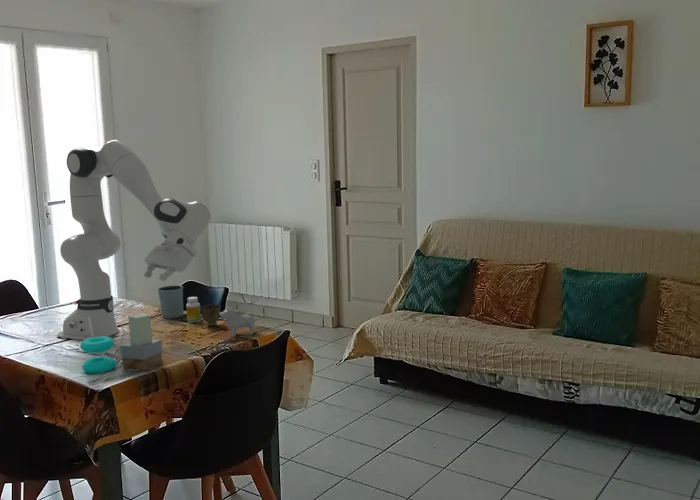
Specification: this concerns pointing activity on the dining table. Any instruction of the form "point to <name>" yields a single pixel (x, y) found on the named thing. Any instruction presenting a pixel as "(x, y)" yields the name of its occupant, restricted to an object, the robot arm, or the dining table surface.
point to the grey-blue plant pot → (171, 301)
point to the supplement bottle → (193, 310)
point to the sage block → (140, 329)
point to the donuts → (98, 346)
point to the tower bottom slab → (142, 362)
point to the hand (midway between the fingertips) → (153, 278)
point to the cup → (211, 314)
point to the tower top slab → (141, 350)
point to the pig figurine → (238, 320)
